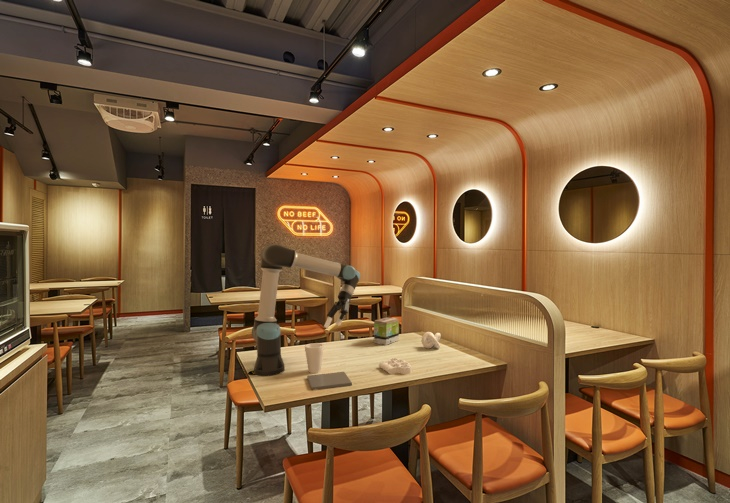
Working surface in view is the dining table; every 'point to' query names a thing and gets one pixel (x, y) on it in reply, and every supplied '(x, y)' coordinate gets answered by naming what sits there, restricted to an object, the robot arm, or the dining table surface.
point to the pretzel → (431, 340)
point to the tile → (329, 380)
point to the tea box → (386, 330)
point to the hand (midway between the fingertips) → (331, 326)
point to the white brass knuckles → (396, 366)
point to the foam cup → (314, 357)
